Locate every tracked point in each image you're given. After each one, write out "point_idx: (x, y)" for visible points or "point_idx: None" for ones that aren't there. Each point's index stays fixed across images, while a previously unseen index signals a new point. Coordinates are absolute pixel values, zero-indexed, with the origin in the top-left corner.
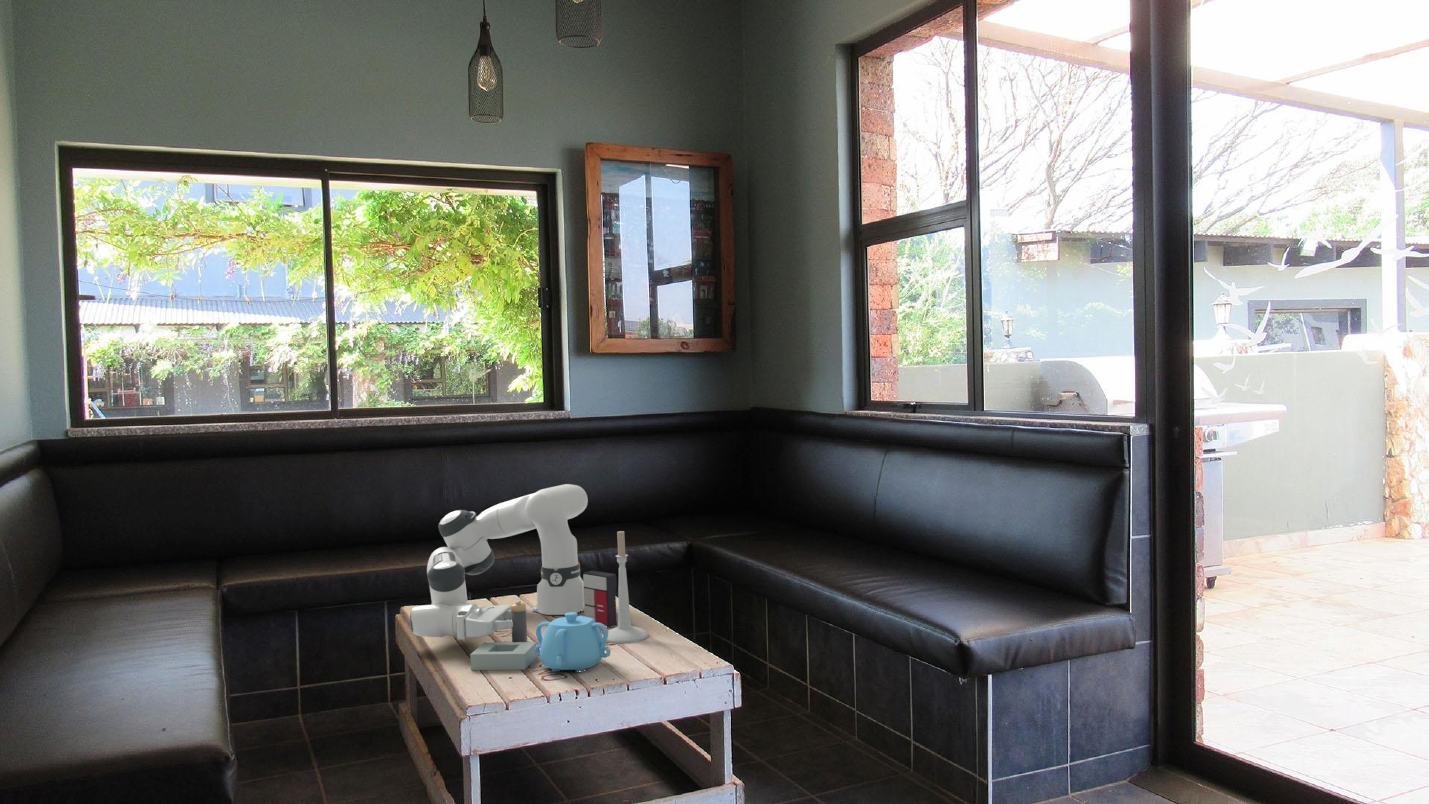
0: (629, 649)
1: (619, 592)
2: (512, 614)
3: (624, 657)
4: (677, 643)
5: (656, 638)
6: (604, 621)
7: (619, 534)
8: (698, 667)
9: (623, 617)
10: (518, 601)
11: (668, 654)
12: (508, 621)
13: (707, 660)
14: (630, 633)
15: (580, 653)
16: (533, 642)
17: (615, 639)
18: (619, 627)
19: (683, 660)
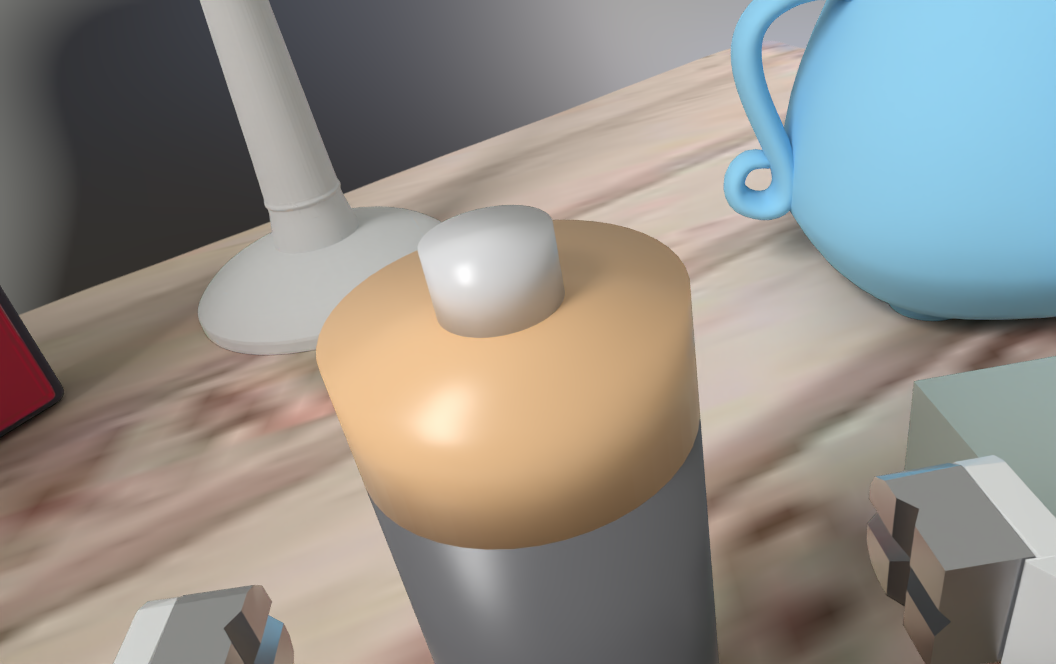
0: (572, 207)
1: (253, 7)
2: (692, 508)
3: (712, 180)
4: (474, 152)
5: (385, 204)
6: (21, 385)
7: None
8: (768, 60)
9: (328, 159)
10: (487, 227)
11: (633, 126)
12: (1040, 503)
13: (684, 70)
14: (398, 212)
15: None
16: (954, 390)
17: None
18: (340, 226)
19: (700, 91)
